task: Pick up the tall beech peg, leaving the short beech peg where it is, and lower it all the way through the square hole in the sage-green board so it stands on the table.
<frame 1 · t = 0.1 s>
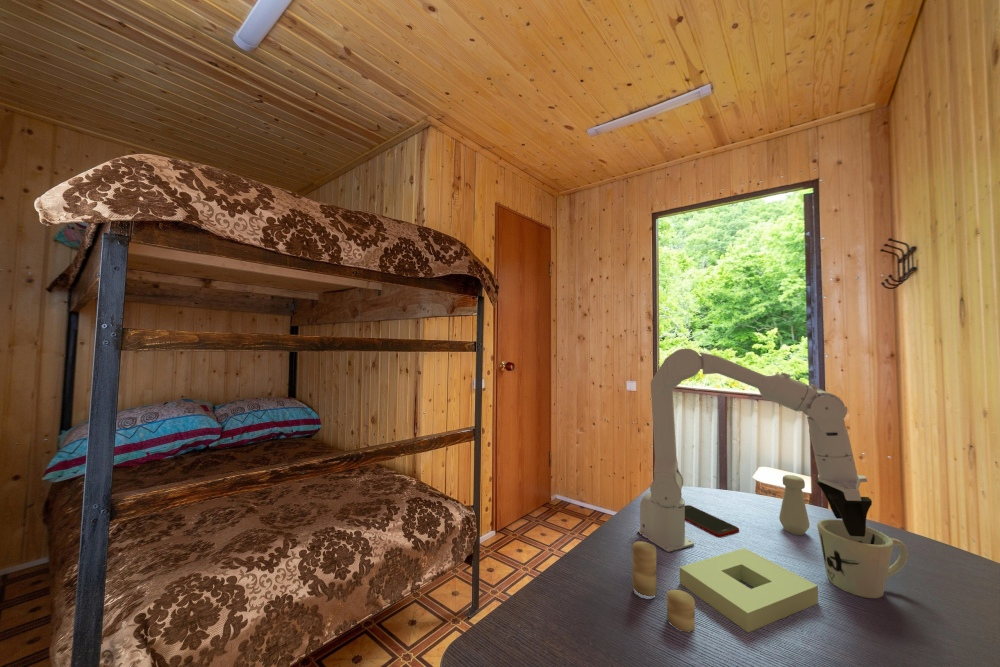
hand: (849, 526, 71), 11 cm above the table, tool pointing down, fingers open, 7 cm apart
tall peg: (644, 592, 68), on the table
short peg: (680, 622, 61), on the table
mug: (866, 587, 70), on the table
cell phone: (702, 523, 96), on the table
hole board: (746, 592, 68), on the table
salt shaker: (794, 532, 91), on the table
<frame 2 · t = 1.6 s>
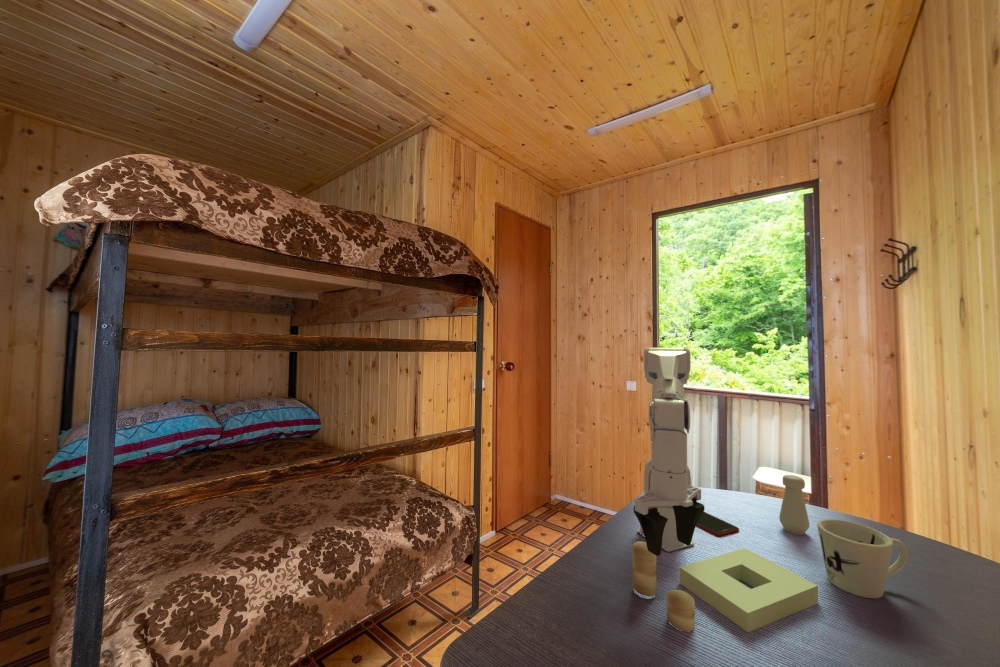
hand: (669, 547, 65), 10 cm above the table, tool pointing down, fingers open, 7 cm apart
nothing on the table moved.
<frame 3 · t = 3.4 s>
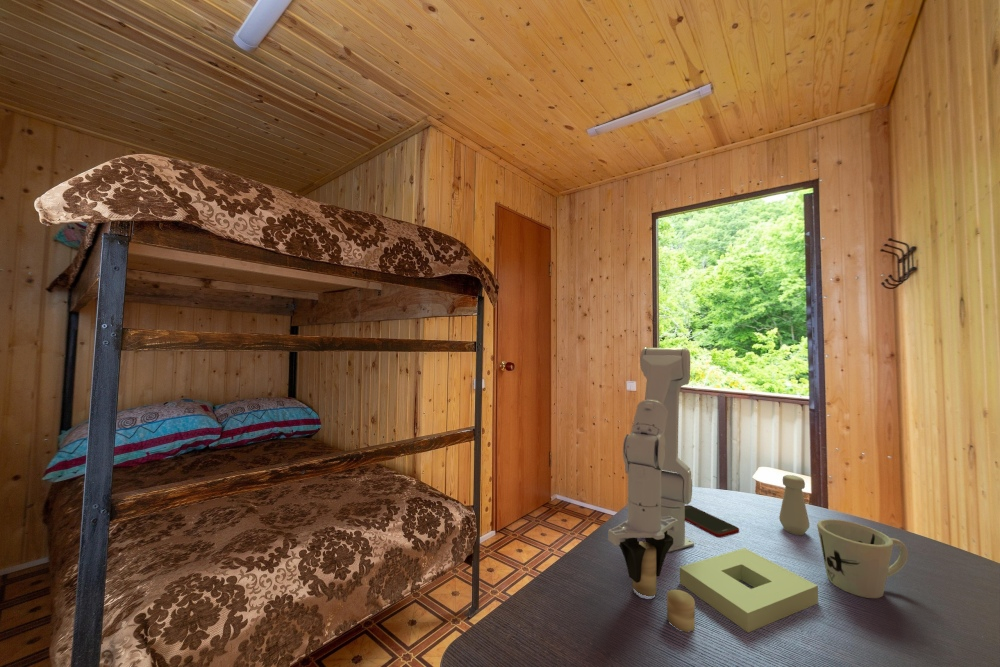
hand: (644, 576, 68), 3 cm above the table, tool pointing down, fingers closed on tall peg, 4 cm apart
tall peg: (644, 592, 68), on the table, touching gripper
everything else where it was.
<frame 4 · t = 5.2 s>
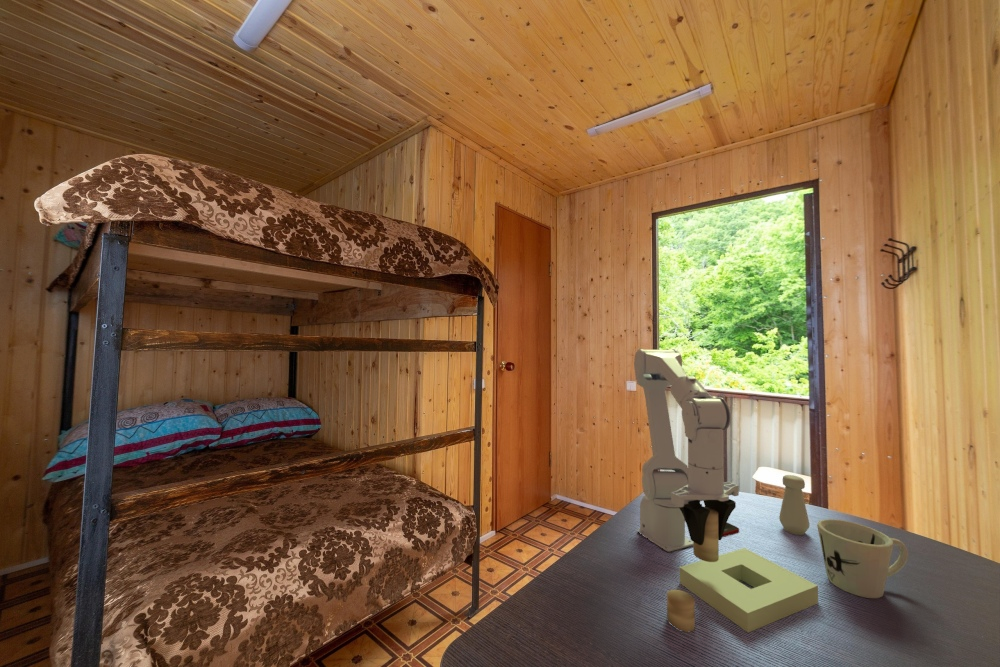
hand: (705, 539, 68), 9 cm above the table, tool pointing down, fingers closed on tall peg, 4 cm apart
tall peg: (705, 555, 68), point 7 cm above the table, touching gripper
everything else where it was.
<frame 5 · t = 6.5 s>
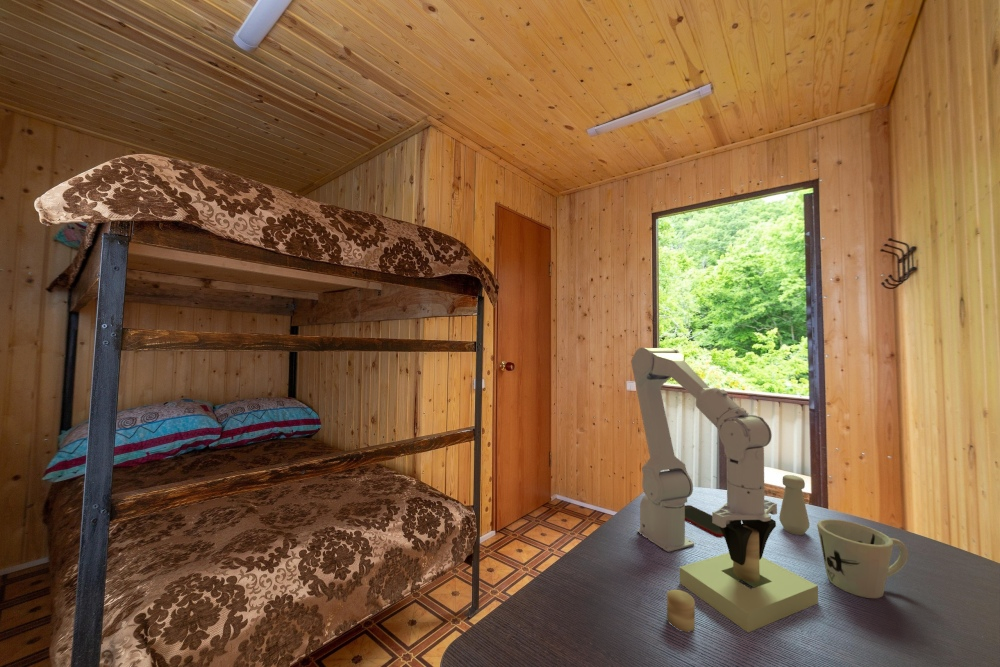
hand: (746, 559, 68), 6 cm above the table, tool pointing down, fingers closed on tall peg, 4 cm apart
tall peg: (746, 575, 68), point 3 cm above the table, touching gripper
everything else where it was.
when the fingers open (4 cm above the table, at t = 7.3 s): tall peg drops 1 cm, resting in hole board.
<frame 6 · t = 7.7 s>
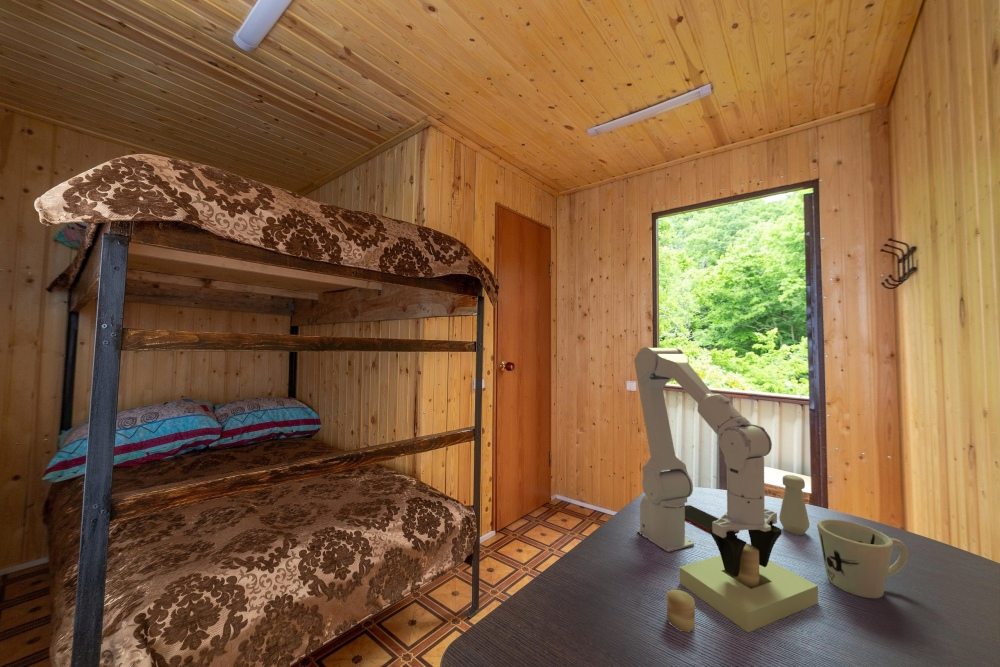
hand: (745, 568, 68), 4 cm above the table, tool pointing down, fingers open, 7 cm apart
tall peg: (746, 593, 68), resting in hole board
everything else where it was.
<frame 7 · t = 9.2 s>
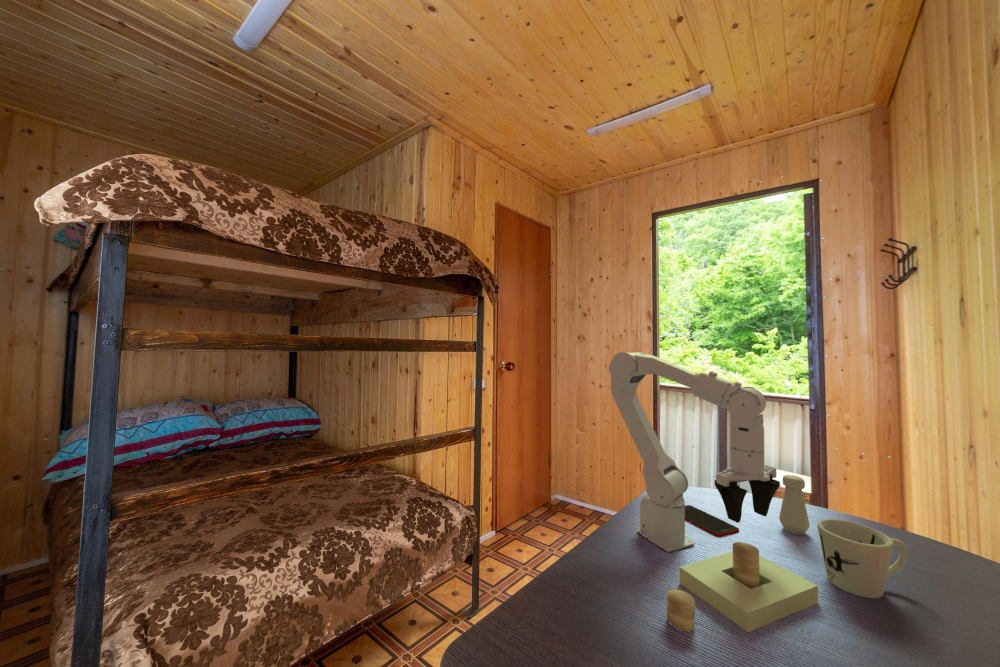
hand: (747, 517, 75), 10 cm above the table, tool pointing down, fingers open, 7 cm apart
nothing on the table moved.
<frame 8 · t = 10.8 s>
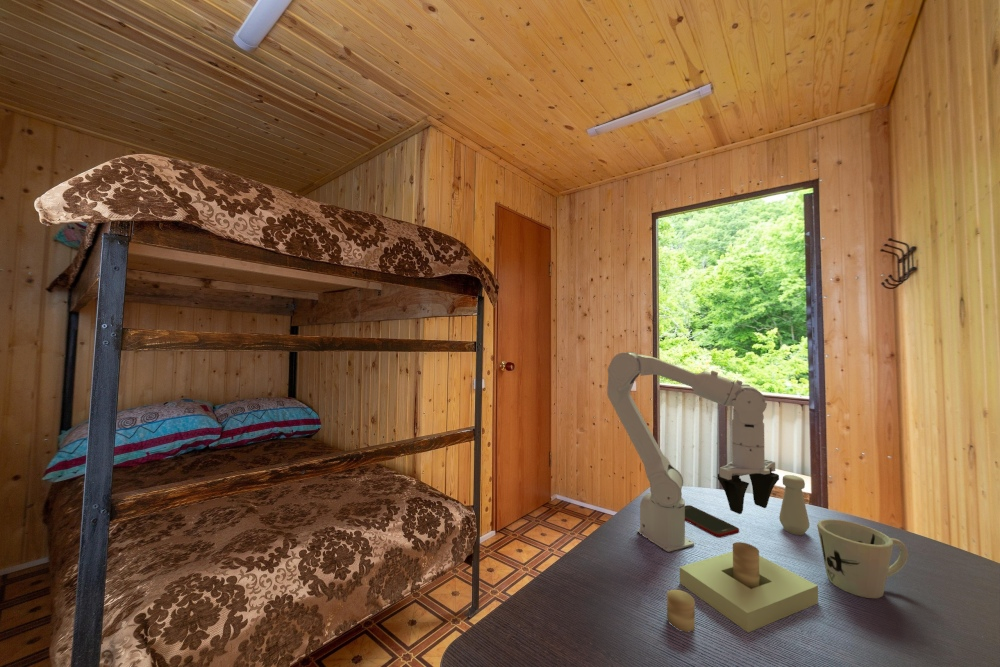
hand: (748, 508, 79), 10 cm above the table, tool pointing down, fingers open, 7 cm apart
nothing on the table moved.
at the end: tall peg 0.0 cm from the hole board (horizontally); tall peg resting in hole board; tall peg tilted 0° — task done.
